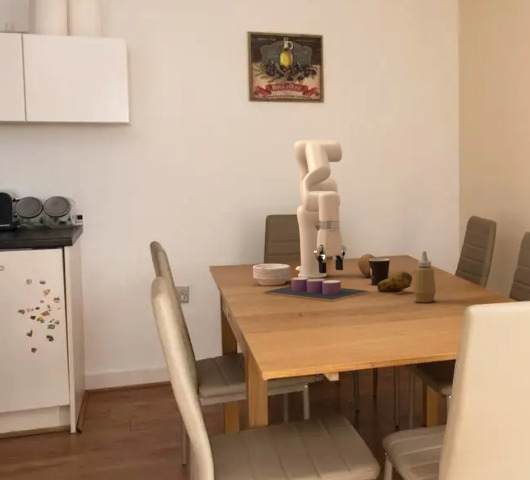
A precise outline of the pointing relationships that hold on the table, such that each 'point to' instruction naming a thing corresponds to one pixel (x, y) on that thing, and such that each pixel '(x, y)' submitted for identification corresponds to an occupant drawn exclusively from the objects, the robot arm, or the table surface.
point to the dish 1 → (299, 283)
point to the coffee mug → (379, 269)
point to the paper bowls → (271, 273)
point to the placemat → (316, 295)
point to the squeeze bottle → (424, 281)
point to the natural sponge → (365, 264)
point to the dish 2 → (331, 287)
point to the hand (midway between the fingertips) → (331, 271)
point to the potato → (395, 282)
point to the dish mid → (314, 285)
